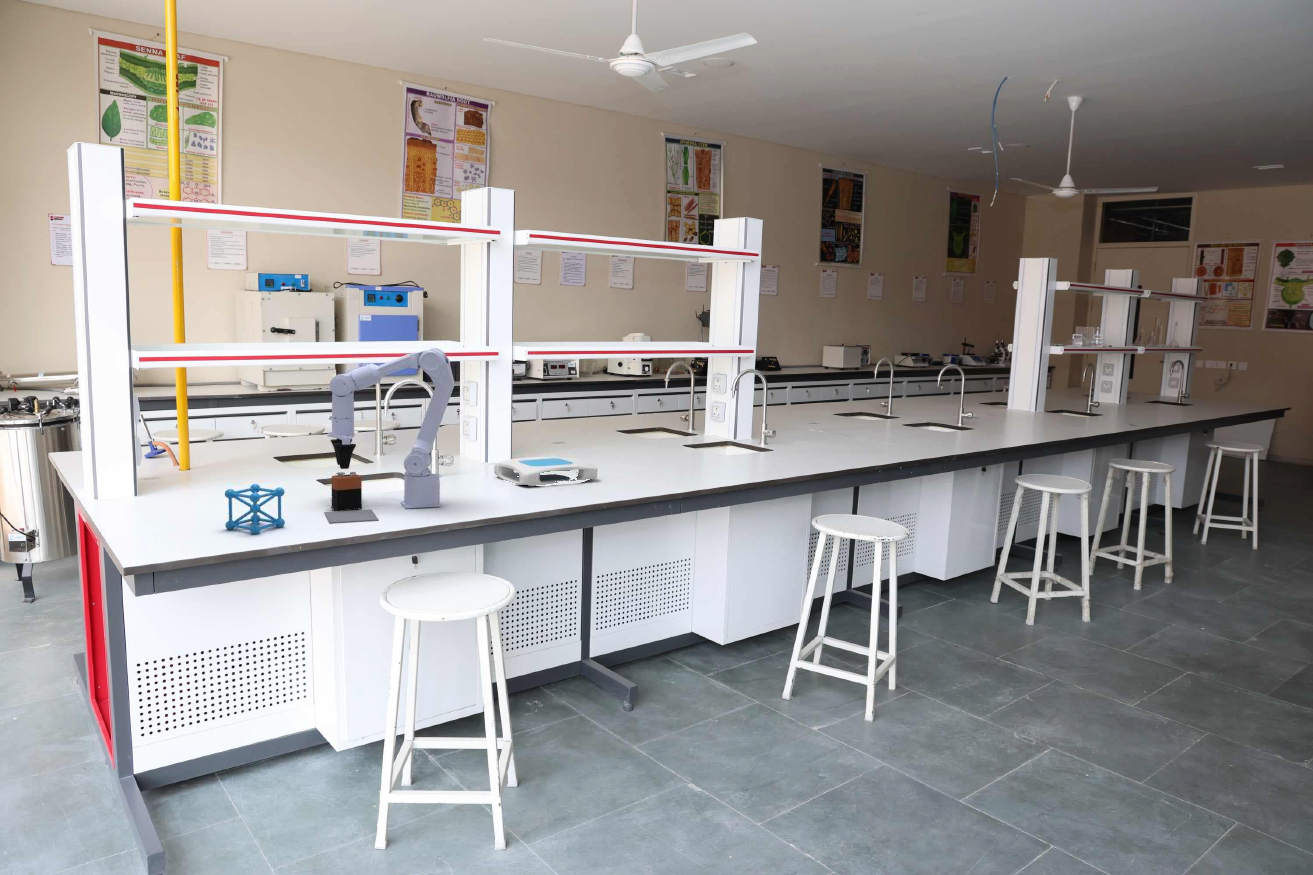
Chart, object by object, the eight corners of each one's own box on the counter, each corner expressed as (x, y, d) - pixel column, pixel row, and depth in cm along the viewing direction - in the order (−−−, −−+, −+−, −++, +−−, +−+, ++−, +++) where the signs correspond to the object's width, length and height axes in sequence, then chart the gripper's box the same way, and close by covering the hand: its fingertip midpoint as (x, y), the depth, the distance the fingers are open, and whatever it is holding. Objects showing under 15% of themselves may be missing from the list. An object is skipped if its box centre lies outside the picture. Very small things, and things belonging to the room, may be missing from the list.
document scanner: (598, 482, 294) (598, 464, 293) (524, 489, 277) (525, 469, 276) (564, 472, 310) (565, 454, 309) (493, 477, 293) (493, 459, 292)
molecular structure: (223, 530, 210) (222, 489, 209) (255, 521, 220) (255, 482, 218) (255, 535, 207) (254, 494, 206) (287, 527, 216) (286, 487, 215)
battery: (331, 509, 236) (330, 472, 235) (355, 506, 241) (355, 470, 240) (337, 511, 233) (337, 474, 232) (362, 508, 238) (362, 472, 237)
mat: (371, 510, 237) (371, 509, 237) (378, 520, 227) (378, 519, 227) (324, 512, 232) (324, 511, 232) (329, 523, 221) (329, 522, 221)
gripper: (324, 414, 245) (324, 462, 247) (330, 421, 232) (330, 471, 234) (351, 414, 248) (351, 461, 250) (358, 421, 236) (358, 470, 237)
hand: (343, 466), depth 243 cm, fingers open, 6 cm apart
